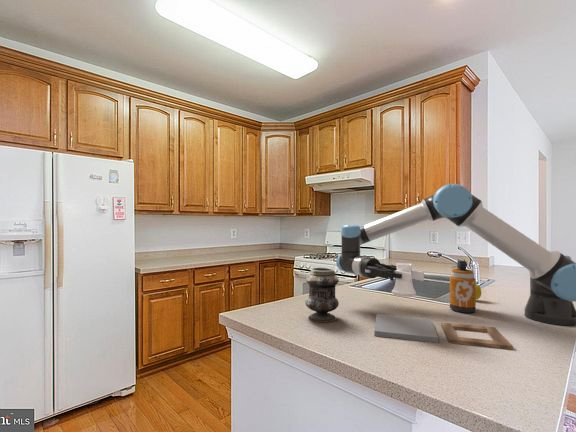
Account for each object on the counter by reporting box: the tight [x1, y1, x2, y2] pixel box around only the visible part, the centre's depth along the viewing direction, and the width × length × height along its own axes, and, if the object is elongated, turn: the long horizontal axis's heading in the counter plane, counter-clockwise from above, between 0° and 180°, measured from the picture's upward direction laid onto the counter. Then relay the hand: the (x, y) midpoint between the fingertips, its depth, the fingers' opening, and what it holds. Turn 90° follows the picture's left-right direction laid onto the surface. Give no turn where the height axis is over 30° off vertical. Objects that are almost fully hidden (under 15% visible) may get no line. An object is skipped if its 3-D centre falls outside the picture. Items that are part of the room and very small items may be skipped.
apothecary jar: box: [304, 266, 340, 323], centre depth 115 cm, size 12×12×18 cm
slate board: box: [374, 313, 439, 344], centre depth 104 cm, size 18×18×2 cm
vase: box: [391, 262, 417, 298], centre depth 104 cm, size 8×8×10 cm
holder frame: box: [440, 321, 514, 351], centre depth 98 cm, size 16×16×1 cm
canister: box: [449, 259, 477, 314], centre depth 126 cm, size 9×11×20 cm
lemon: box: [476, 283, 482, 301], centre depth 140 cm, size 6×6×8 cm
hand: (417, 277), depth 99 cm, fingers closed on vase, 5 cm apart
